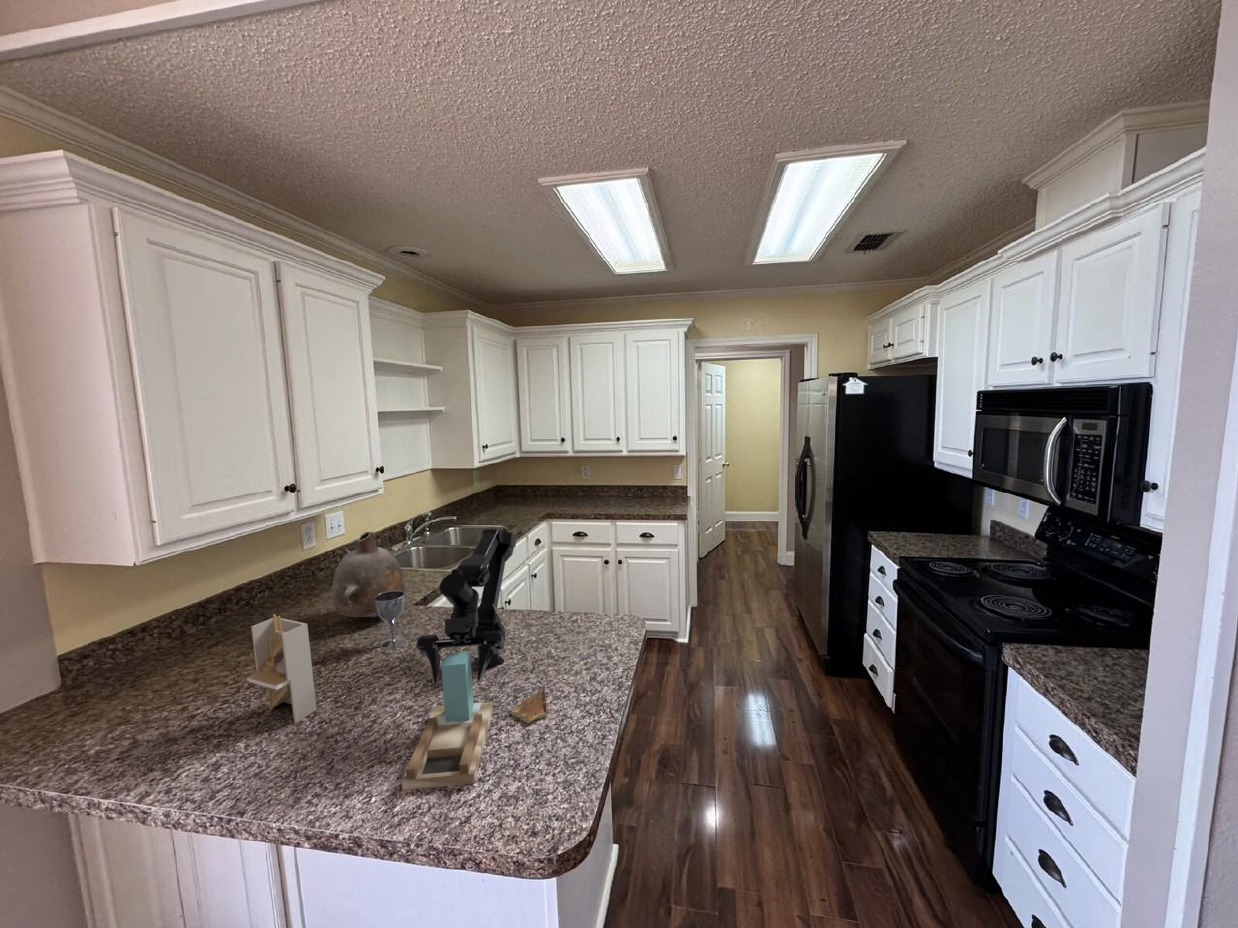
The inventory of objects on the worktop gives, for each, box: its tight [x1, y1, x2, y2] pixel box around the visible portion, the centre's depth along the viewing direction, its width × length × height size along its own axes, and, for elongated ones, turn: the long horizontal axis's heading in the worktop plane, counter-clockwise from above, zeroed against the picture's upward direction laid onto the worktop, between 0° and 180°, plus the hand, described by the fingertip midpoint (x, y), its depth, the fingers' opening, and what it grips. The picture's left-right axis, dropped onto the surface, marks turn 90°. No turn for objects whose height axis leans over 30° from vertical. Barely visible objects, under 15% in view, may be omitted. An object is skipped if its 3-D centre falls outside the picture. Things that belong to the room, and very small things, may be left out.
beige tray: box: [401, 701, 494, 791], centre depth 101 cm, size 22×13×4 cm, turn 6°
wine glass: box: [375, 590, 407, 650], centre depth 145 cm, size 8×8×15 cm
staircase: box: [246, 613, 318, 723], centre depth 112 cm, size 8×12×26 cm
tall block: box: [441, 651, 475, 722], centre depth 108 cm, size 5×5×13 cm
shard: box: [511, 687, 549, 725], centre depth 113 cm, size 11×8×2 cm
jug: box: [332, 530, 406, 619], centre depth 162 cm, size 24×21×30 cm
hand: (457, 682), depth 107 cm, fingers open, 9 cm apart
